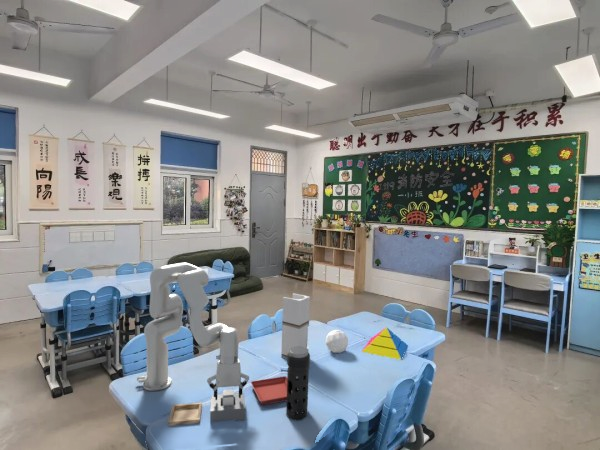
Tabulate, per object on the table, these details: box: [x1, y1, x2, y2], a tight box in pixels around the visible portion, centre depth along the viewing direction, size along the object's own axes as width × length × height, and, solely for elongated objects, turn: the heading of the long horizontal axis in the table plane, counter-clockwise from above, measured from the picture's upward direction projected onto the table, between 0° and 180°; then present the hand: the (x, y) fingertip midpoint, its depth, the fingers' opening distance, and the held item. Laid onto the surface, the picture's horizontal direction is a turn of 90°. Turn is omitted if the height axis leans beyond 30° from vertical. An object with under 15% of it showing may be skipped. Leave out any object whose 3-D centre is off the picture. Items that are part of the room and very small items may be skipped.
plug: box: [222, 388, 235, 406], centre depth 151 cm, size 4×4×8 cm
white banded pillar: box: [280, 292, 311, 360], centre depth 206 cm, size 11×11×35 cm
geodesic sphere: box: [325, 329, 349, 354], centre depth 215 cm, size 14×14×14 cm
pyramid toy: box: [361, 327, 409, 360], centre depth 222 cm, size 25×25×14 cm
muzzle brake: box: [285, 346, 311, 421], centre depth 152 cm, size 10×28×10 cm
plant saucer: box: [250, 375, 292, 406], centre depth 168 cm, size 18×18×3 cm
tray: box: [167, 401, 203, 427], centre depth 148 cm, size 12×12×2 cm
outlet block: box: [209, 392, 246, 423], centre depth 151 cm, size 14×12×5 cm
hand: (228, 397), depth 151 cm, fingers open, 9 cm apart
